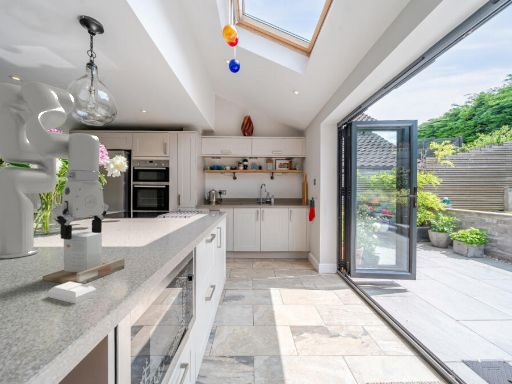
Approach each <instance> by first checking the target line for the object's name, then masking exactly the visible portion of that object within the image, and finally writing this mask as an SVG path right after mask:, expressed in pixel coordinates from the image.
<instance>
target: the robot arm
mask: <svg viewBox="0 0 512 384" xmlns="http://www.w3.org/2000/svg"><path fill="white" fill-rule="evenodd" d="M75 106H76V102H75V99H74V97H73V95H72V94H71V93H70V92H69V91H67V90H66V89H64V88H60V87H57V86H53V85H50V84H48V83H44V82H40V81H34V80H33V81H26V82H24V83H23V84H22V85H18V84H14V83H9V82H0V158H1V160H2V161H4V162H6V163H9V164H10V163H11V164H20V165H21V164H22V165H36V166H37V167H22V166H21V167H20V166H5V167H0V259H14V258H21V257H27V256H32V255H35V254H38V253H39V252H40V248H39V247H36V246H34V245H35V242H34V235H35V234H34V223H35V222H34V217H35V216H34V215H35V214H34V204H33V202H32V201H31V200H30V198H29V197H28V196H27V195H26V194H49V193H51V192H53V191H54V190H55V188H56V186H57V159H59V160H68V161H67V171H66V172H64V177H65V178H67V181H65V183H64V188H63V192H62V198H61V203H60V204H59V205H57V206H55V207H54V208H52V209H50V214H52V216H53V219H54V221H55V222H57V223H58V225H60V233H59V234H60V239H61V240H64V239H67V240H70V239H71V238H72V233H73V225H72V224H71V223H72V221H73V220H74V219H75V218H77V219H79V218H87V217H92V220H91V233H102V232H103V231H102V228H103V227H102V223H103V220H104V219H105V217H106V215H107V214H108V213H107V212H108V209H109V205H108V204H107V203H105V202H104V192H103V187H102V186H103V185H102V183H101V182H100V181H99V180H100V179H99V178H100V177H99V175H100V145H101V144H100V138H99V137H98V136H96V135H94V134H89V133H79V132H77V133H75V132H74V133H71V134H68V133H64V132H57V131H51V130H53V129H56V128H59V127H61V126H63V125H64V124H65V123H66V121H67V118H68V115H69V114H71V113H73V111H74V109H75ZM20 112H24V113H29V114H31V115H30V116H29V118H28V120H27V119H26V118H25V116H24V115H22V113H20ZM61 213H62V214H61Z"/></svg>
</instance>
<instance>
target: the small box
mask: <svg viewBox="0 0 512 384" xmlns="http://www.w3.org/2000/svg"><path fill="white" fill-rule="evenodd" d="M102 237H103V235H102V232H101V233H93V232H90V231H89V232H88V231H87V232H85V231H79V232H74V233H73V232H72V238H71V239H70V240H67V239H63V270H64V271H67V272H77V273H79V272H82V271H85V270H88V269H91V268H94V267H97V266H100V265H102V262H103V241H102V240H103V238H102Z"/></svg>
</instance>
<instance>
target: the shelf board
mask: <svg viewBox="0 0 512 384" xmlns="http://www.w3.org/2000/svg"><path fill="white" fill-rule="evenodd" d="M123 269H125V258H124V257H123V258H122V257H120V258H118V259H116V260H112V261H109V262H103V261H102V265H100V266H97V267H94V268H91V269H88V270H85V271H82V272H79V273H77V272H67V271H64V269H61V270H59V271H58V270H57V271H54V272H52V273H49V274H45V275H42V281H49V282H56V283H61V284H64V283H67V282H70V281H71V282H75V283H80V284H85V285H86V284H88V283H90V282H93V281H95V280H98V279H100V278H103V277H106V276H108V275H111V274H113V273H116V272H118V271H120V270H123Z"/></svg>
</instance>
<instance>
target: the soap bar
mask: <svg viewBox="0 0 512 384" xmlns="http://www.w3.org/2000/svg"><path fill="white" fill-rule="evenodd" d="M47 293H48V294H47V295H48V298H50V299H51V298H52V299H55V300H59V301H63V302H68V303H71V304H74V305H75V304H79V303H80V302H83V301H86V300H88V299H91V298H93V297H95V296H97V288H95V286H93V285H89V284H86V283H85V284H80V283H75V282H71V281H70V282H67V283H61V284H59V285H55V286H53V287H51V289H49V290H48V292H47Z"/></svg>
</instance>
